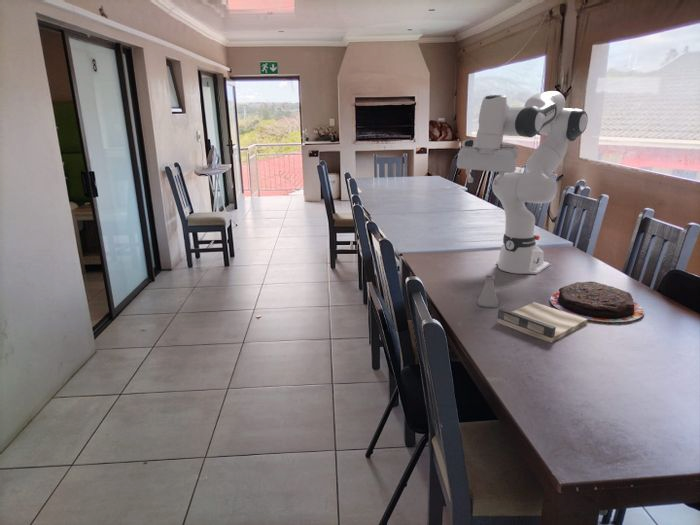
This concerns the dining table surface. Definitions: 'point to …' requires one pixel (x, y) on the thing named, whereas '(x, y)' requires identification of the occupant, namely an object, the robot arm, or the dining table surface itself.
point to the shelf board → (541, 321)
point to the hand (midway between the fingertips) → (483, 184)
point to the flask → (488, 294)
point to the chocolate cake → (597, 303)
